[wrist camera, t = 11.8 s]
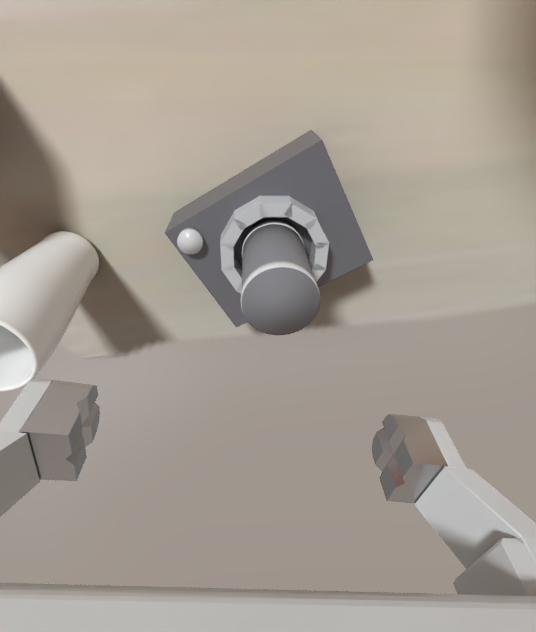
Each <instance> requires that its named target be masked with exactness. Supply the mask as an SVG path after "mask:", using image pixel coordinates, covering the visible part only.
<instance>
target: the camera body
mask: <svg viewBox="0 0 536 632" xmlns="http://www.w3.org/2000/svg"><path fill="white" fill-rule="evenodd" d="M271 217H275V218H282V219H284V220H287V221H289V222H290V223H292V224H293V225H294V226H295V227H296V228H297V230H298V231H299V233H300V235H301V237H302V240H303V243H304V246H305V251H306V254H307V257H308V260H309V264H310V267H311V270H312V273H313V276H314V278H315V281H316V283H317V286H318V287H319V286H321V285H323V284H325V283H327V282H329V281H331V280H334V279H336V278H338V277H340V276H342V275H344V274H346V273H348V272H350V271H352V270H354V269H356V268H358V267H360V266H362V265H364V264H366V263H368V262H370V261H372V260H373V258H372V256H371V254H370V251H369V249H368V247H367V244H366V242H365V240H364V237H363V235H362V233H361V230H360V228H359V226H358V223H357V221H356V218H355V216H354V214H353V211H352V209H351V207H350V204H349V202H348V200H347V197H346V195H345V193H344V190H343V188H342V186H341V183H340V181H339V179H338V176H337V174H336V172H335V169H334V167H333V165H332V162H331V160H330V158H329V155H328V153H327V150H326V148H325V146H324V143H323V141H322V139H321V138H320V137H318V136H317V135H316V134H315V133H314V132H313V131H312V130H310V131H309V132H307V133H305V134H304V135H302V136H300V137H299V138H297V139H295V140H294V141H292V142H290V143H289V144H287V145H286V146H284V147H282V148H281V149H279V150H277V151H276V152H274V153H272V154H271V155H269V156H267V157H266V158H264V159H262V160H261V161H259V162H257V163H256V164H254V165H252V166H251V167H249V168H247V169H246V170H244V171H243V172H241V173H239V174H238V175H236V176H234V177H233V178H231V179H229V180H228V181H226V182H224V183H223V184H221V185H219V186H218V187H216V188H214V189H213V190H211V191H209V192H208V193H206V194H204V195H203V196H201V197H199V198H198V199H196V200H195V201H193V202H191V203H190V204H188V205H186V206H185V207H183V208H181V209H180V210H178V211H176V212H175V213H174V214H173V217H172V219H171V221H170V223H169V225H168V227H167V229H166V231H165V234H166V235H167V236H168V238H169V239H170V240H171V242H172V243H173V244H174V246H175V247H176V248H177V250H178V251H179V252H180V254H181V255H182V256H183V258H184V259H185V260H186V262H187V263H188V264H189V266H190V267H191V268H192V269H193V271H194V272H195V273H196V275H197V276H198V277H199V279H200V280H201V281H202V283H203V284H204V285H205V287H206V288H207V289H208V291H209V292H210V293H211V295H212V296H213V297H214V298H215V300H216V301H217V302H218V304H219V305H220V306H221V308H222V309H223V310H224V312H225V313H226V314H227V316H228V317H229V318H230V320H231V321H232V322H233V324H234V325H235V326H236V327H238V326H240V325H242V324H244V323H246V322H248V321H247V319H246V318H245V316H244V314H243V311H242V308H241V290H242V245H243V239H244V236H245V234H246V232H247V231H248V229H249V228H250V227H251V226H252V225H253V224H254V223H256V222H258V221H260V220H262V219H265V218H271Z"/></svg>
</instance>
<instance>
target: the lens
mask: <svg viewBox="0 0 536 632" xmlns="http://www.w3.org/2000/svg"><path fill="white" fill-rule="evenodd" d="M319 304H320V293H319V289H318V286H317V283H316V281H315V278H314V276H313V273H312V270H311V267H310V264H309V260H308V257H307V254H306V251H305V246H304V243H303V240H302V237H301V235H300V233H299V231H298V230H297V228H296V227H295V226H294V225H293V224H292V223H290V222H289V221H287V220H284V219H282V218H275V217H271V218H265V219H262V220H260V221H258V222H256V223H254V224H253V225H252V226H251V227H250V228H249V229H248V231H247V232H246V234H245V236H244V239H243V245H242V290H241V308H242V311H243V314H244V316H245V318H246V319H247V321H248V322H249V323H250V324H251V325H252V326H253V327H254V328H256V329H257V330H259V331H261V332H264V333H267V334H272V335H286V334H291V333H294V332H297V331H299V330H301V329H303V328H304V327H305V326H307V325H308V324H309V323H310V322H311V321H312V320H313V319H314V317H315V316H316V314H317V312H318V309H319Z"/></svg>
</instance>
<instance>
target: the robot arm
mask: <svg viewBox="0 0 536 632" xmlns="http://www.w3.org/2000/svg"><path fill="white" fill-rule="evenodd" d="M97 396H98V392H97V386H95V385H89V384H80V383H72V382H64V381H56V380H46V379H37V378H33V379H32V380H30V381H29V382H28V383H27V384H26V386H25V387H24V389H23V390H22V391H21V393H20V394H19V396H18V398H17V399H16V400H15V402H14V403H13V405H12V406H11V408H10V409H9V410H8V412H7V413H6V415H5V416H4V418H3V419H2V421H1V422H0V517H1V516H2V515H3V514H4V513H5V512H6V511H7V510H9V509H10V508H11V507H12V506H13V505H14V504H15V503H16V502H17V501H19V500H20V499H21V498H22V497H23V496H24V495H25V494H26V493H28V492H29V491H30V490H31V489H32V488H33V487H34V486H35V485H37V484H38V483H39V482H40V480H41V479H42V480H67V481H77V479H78V476H79V474H80V471H81V469H82V467H83V464H84V462H85V459H86V451H85V450H86V449H85V447H86V446H88V445H89V444H90V443H92V442H93V440H94V437H95V434H96V432H97V428H98V423H99V415H100V412H99V406H98V405H97V404H96V403H95V401H96V398H97ZM382 423H383V426H384V428H383V429H381V430H379V431H378V432H377V433H376V435H375V437H374V439H373V445H372V453H373V458H374V461H375V464H376V465H377V466H378V467H379V468H380V469H381V471H382V474H381V476H380V481H381V484H382V487H383V490H384V493H385V496H386V499H387V501H397V502H407V503H415V504H414V505H415V506H416V507H417V508H418V510H419V511H420V512H421V514H422V515H423V516H424V517H425V518H426V520H427V521H428V522H429V523H430V524H431V526H432V527H433V528H434V530H435V531H436V532H437V533H438V534H439V536H440V537H441V538H442V539H443V541H444V542H445V543H446V544H447V546H448V547H449V548H450V549H451V550H452V552H453V553H454V554H455V555H456V557H457V558H458V559H459V560H460V562H461V563H462V564H463V565H464V567H465V568H466V570H465V571H464V572H463V573H462V574H460V576H458V577H457V578H456V579H455V581H454V586H455V589H456V591H457V594H427V593H387V592H348V591H307V590H269V589H230V588H229V589H228V588H187V587H150V586H110V585H68V584H29V583H0V632H536V524H535V523H534V522H533V521H532V520H531V519H530V518H529V517H527V516H526V515H525V514H524V513H523V512H521V511H520V510H519V509H518V508H517V507H516V506H514V505H513V504H512V503H511V502H510V501H509V500H507V499H506V498H505V497H504V496H503V495H502V494H500V493H499V492H498V491H497V490H496V489H494V488H493V487H492V486H491V485H490V484H489V483H488V482H486V481H485V480H484V479H483V478H482V477H480V476H479V475H478V474H477V473H476V472H474V470H472V469H470V468H466V466H465V464H464V463H463V461H462V459H461V457H460V455H459V453H458V451H457V450H456V448H455V446H454V444H453V442H452V440H451V438H450V436H449V435H448V433H447V431H446V429H445V427H444V425H443V423H442V422H441V421H440V420H439V419H435V418H425V417H416V416H404V415H393V414H389V415H387V416H386V417H385V419H384V420H383V422H382Z"/></svg>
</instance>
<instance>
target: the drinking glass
mask: <svg viewBox="0 0 536 632" xmlns="http://www.w3.org/2000/svg"><path fill="white" fill-rule="evenodd" d="M98 268H99V257H98V254H97V252H96V250H95V248H94V247H93V246H92V244H91V243H90V242H89V241H88V240H86V239H85V238H83V237H82V236H80V235H78V234H75V233H72V232H67V231H59V232H54V233H51V234H49V235H47V236H46V237H45V238H43V239H42V240H41V241H40V242H39V243H37V244H36V245H34V246H33V247H31V248H29V249H28V250H26V251H25V252H23V253H21V254H20V255H18V256H17V257H15V258H13V259H12V260H10V261H9V262H7V263H5V264H4V265H2V266H0V391H10V390H15V389H18V388H21V387H23V386H25V385H26V384H27V383H28V382H29V381H30V380H32V379H33V378H35V376H36V375H37V374H38V372H39V371H40V370H41V368H42V367H43V366H44V365H45V363H46V362H47V360H48V359H49V358H50V356H51V355H52V353H53V352H54V350H55V349H56V347H57V346H58V344H59V342H60V341H61V339H62V337H63V335H64V333H65V332H66V330H67V328H68V326H69V324H70V322H71V320H72V318H73V316H74V314H75V312H76V310H77V308H78V306H79V304H80V302H81V300H82V298H83V296H84V294H85V292H86V290H87V288H88V286H89V284H90V282H91V281H92V279H93V278H94V276H95V275H96V273H97V271H98Z"/></svg>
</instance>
